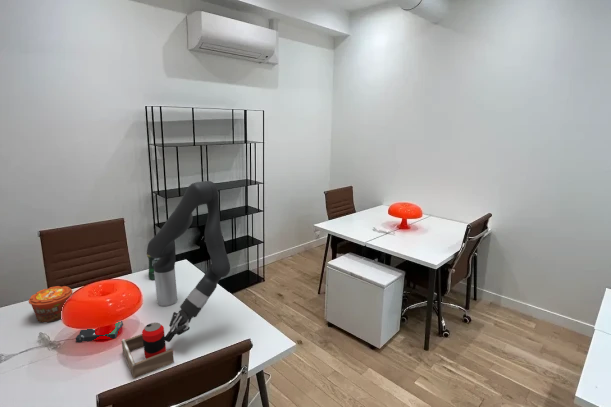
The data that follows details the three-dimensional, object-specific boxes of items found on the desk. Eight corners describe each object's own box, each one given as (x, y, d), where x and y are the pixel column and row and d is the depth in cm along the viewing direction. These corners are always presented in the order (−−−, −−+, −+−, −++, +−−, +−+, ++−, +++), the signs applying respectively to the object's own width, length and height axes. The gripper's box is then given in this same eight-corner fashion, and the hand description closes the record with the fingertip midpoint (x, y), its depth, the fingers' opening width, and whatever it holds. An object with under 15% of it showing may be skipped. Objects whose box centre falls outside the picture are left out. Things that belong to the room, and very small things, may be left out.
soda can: (155, 346, 138) (153, 319, 135) (170, 351, 135) (168, 323, 132) (140, 357, 131) (136, 329, 128) (155, 363, 128) (152, 335, 125)
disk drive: (76, 344, 139) (116, 339, 142) (74, 338, 138) (115, 333, 141) (86, 329, 149) (123, 324, 152) (84, 323, 148) (122, 319, 151)
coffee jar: (148, 281, 190) (145, 249, 186) (149, 275, 198) (145, 244, 193) (167, 278, 194) (164, 247, 190) (167, 272, 201) (164, 242, 197)
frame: (123, 352, 134) (121, 339, 132) (160, 338, 142) (158, 326, 141) (133, 378, 121) (131, 365, 119) (173, 362, 129) (172, 349, 127)
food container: (35, 311, 161) (31, 289, 158) (76, 302, 169) (73, 282, 166) (29, 329, 147) (24, 306, 145) (74, 318, 155) (70, 297, 152)
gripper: (182, 291, 141) (153, 329, 137) (194, 305, 131) (164, 346, 127) (195, 299, 146) (168, 335, 142) (208, 312, 136) (179, 352, 132)
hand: (166, 340), depth 134 cm, fingers closed
